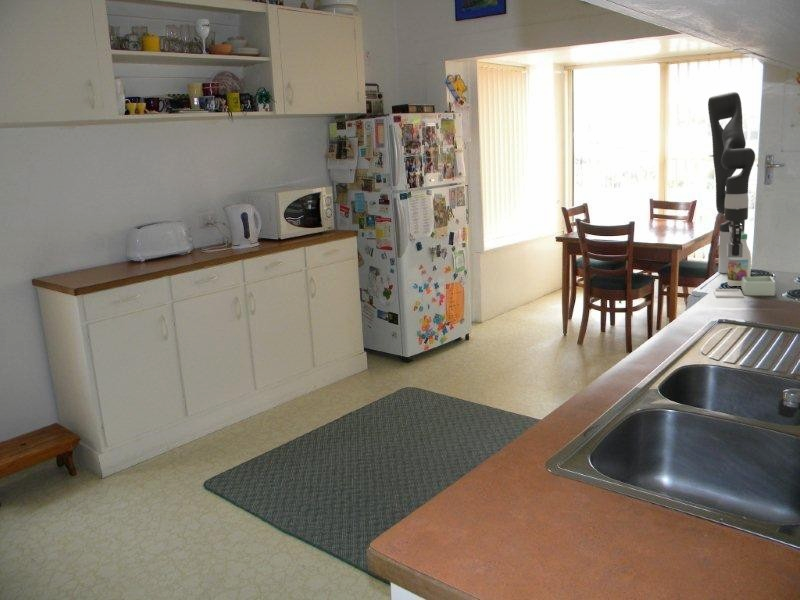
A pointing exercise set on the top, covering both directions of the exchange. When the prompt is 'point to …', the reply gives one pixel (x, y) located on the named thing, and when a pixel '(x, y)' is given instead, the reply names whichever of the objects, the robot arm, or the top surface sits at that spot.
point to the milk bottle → (739, 265)
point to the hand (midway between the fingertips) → (734, 253)
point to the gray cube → (729, 250)
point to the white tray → (728, 293)
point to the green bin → (758, 286)
